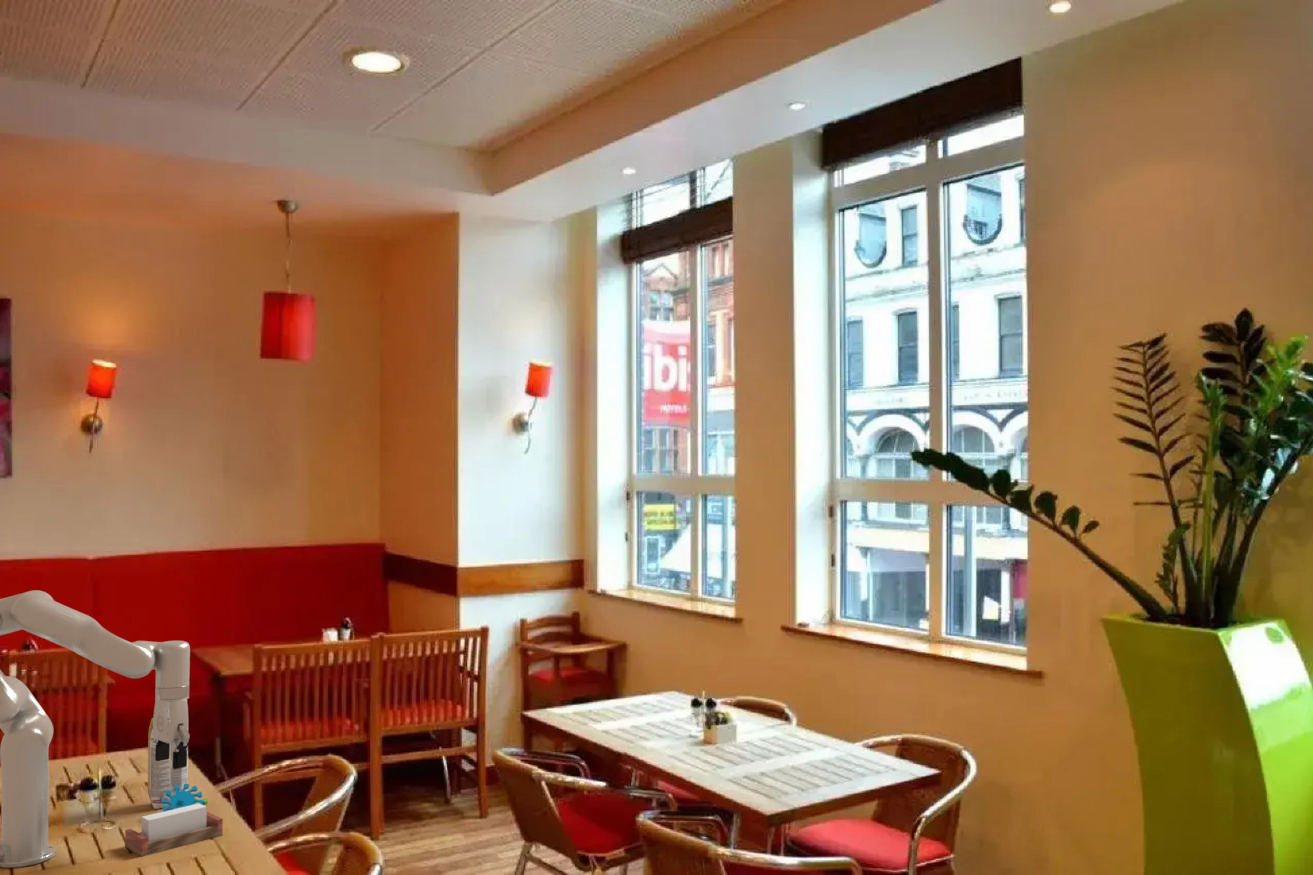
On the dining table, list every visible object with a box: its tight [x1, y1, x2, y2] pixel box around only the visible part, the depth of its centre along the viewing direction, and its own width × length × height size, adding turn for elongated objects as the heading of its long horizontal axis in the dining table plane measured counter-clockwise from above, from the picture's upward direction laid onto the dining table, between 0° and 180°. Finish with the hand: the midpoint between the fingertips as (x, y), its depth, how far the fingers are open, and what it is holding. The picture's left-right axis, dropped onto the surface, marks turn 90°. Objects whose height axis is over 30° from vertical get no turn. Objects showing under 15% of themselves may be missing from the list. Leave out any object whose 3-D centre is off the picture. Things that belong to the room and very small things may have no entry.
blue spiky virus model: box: [161, 783, 209, 812], centre depth 287 cm, size 11×6×10 cm
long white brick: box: [140, 803, 208, 842], centre depth 267 cm, size 14×4×6 cm, turn 138°
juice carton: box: [147, 717, 189, 810], centre depth 295 cm, size 9×8×24 cm
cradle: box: [124, 811, 224, 857], centre depth 267 cm, size 19×9×4 cm, turn 138°
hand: (170, 763), depth 267 cm, fingers open, 9 cm apart
